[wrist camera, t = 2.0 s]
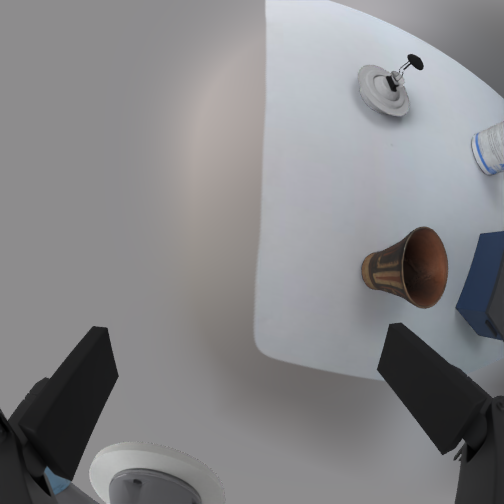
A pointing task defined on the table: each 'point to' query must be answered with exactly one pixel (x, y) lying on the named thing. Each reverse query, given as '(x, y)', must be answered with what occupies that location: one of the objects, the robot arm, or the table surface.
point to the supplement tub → (490, 149)
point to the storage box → (485, 288)
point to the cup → (410, 268)
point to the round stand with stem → (386, 88)
